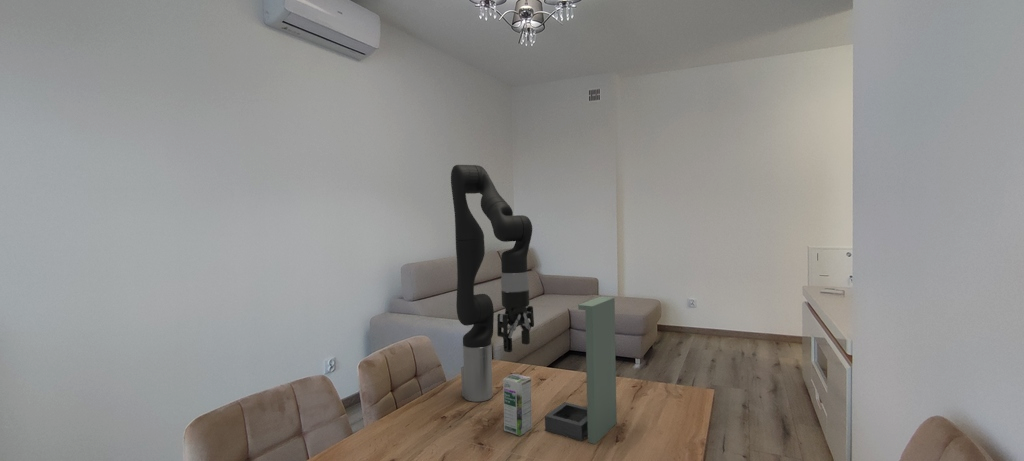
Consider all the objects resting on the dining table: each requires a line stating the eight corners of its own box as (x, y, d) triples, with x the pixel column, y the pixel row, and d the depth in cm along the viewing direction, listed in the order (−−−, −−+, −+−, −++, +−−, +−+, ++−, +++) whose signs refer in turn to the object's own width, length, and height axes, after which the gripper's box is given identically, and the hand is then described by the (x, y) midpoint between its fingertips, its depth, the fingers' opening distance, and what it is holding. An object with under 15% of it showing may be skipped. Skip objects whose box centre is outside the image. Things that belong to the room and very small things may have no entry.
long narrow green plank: (580, 440, 117) (578, 304, 116) (603, 419, 129) (601, 296, 128) (595, 444, 115) (592, 306, 114) (616, 423, 126) (614, 297, 125)
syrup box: (503, 431, 123) (501, 378, 123) (516, 423, 128) (515, 372, 128) (520, 436, 120) (518, 382, 119) (532, 428, 125) (531, 376, 124)
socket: (545, 430, 123) (544, 416, 123) (564, 415, 132) (564, 402, 132) (581, 441, 117) (581, 426, 117) (599, 424, 126) (599, 410, 125)
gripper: (518, 284, 132) (520, 340, 132) (488, 291, 120) (490, 352, 120) (540, 285, 127) (542, 343, 127) (511, 293, 116) (513, 356, 116)
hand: (517, 347), depth 124 cm, fingers open, 8 cm apart
